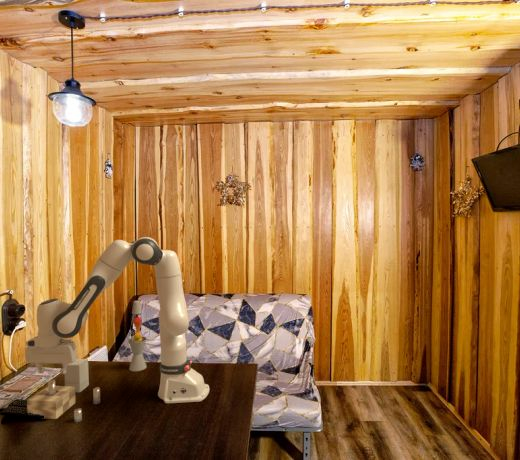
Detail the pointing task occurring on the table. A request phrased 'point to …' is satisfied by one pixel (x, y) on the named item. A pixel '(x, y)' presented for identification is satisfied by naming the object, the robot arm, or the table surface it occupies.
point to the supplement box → (77, 375)
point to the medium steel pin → (96, 395)
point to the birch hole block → (52, 402)
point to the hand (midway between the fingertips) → (52, 373)
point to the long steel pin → (51, 388)
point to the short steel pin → (77, 415)
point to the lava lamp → (137, 341)
